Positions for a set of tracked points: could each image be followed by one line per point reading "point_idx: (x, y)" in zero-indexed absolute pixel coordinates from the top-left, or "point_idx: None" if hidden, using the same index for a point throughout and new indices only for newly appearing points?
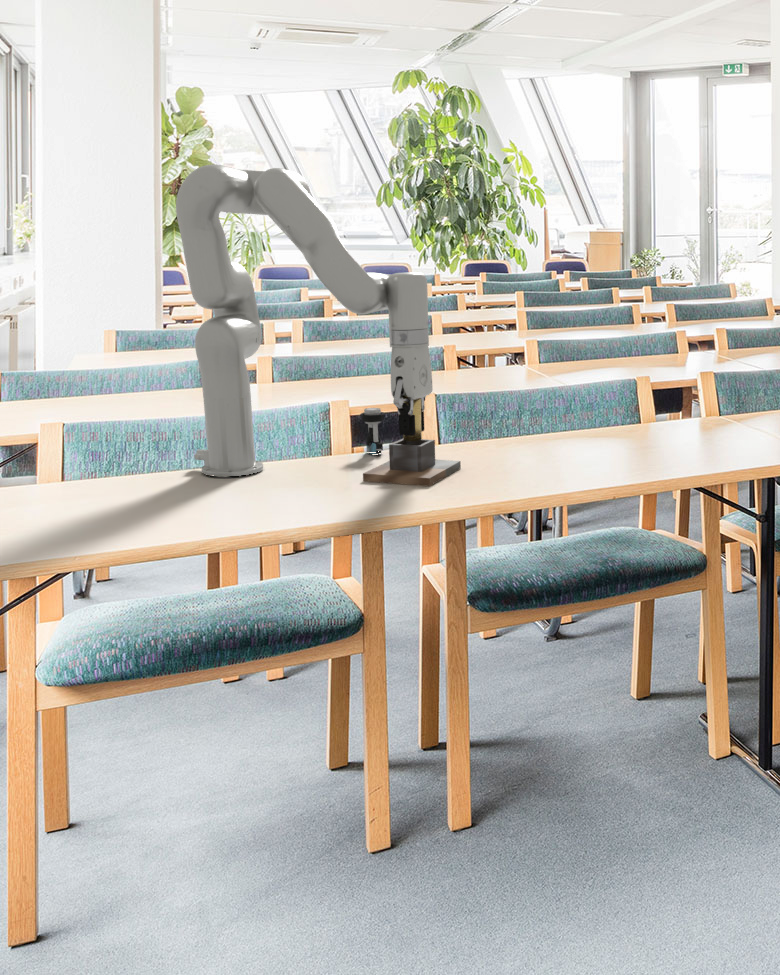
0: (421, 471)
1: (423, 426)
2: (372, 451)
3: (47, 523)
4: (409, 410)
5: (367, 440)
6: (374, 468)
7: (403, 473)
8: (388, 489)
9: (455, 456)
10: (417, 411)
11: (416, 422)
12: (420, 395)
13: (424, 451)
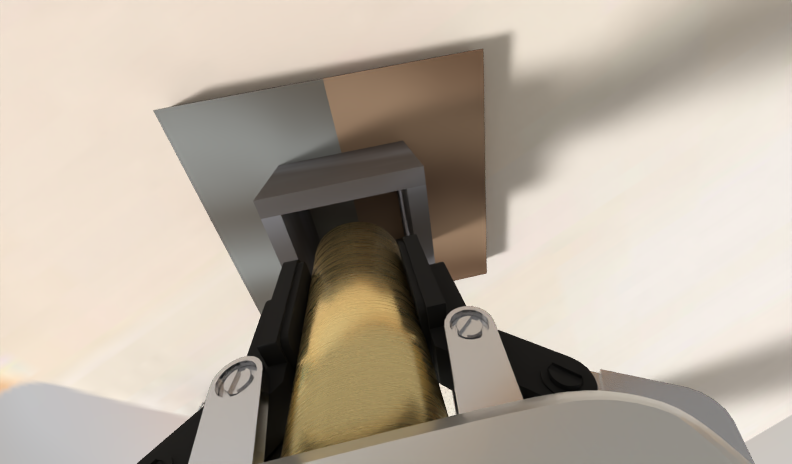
0: (403, 141)
1: (291, 272)
2: None
3: (777, 406)
4: (497, 339)
5: None
6: None
7: (448, 180)
8: (543, 151)
9: (32, 238)
10: (385, 329)
11: (388, 277)
12: (474, 444)
13: (381, 164)
